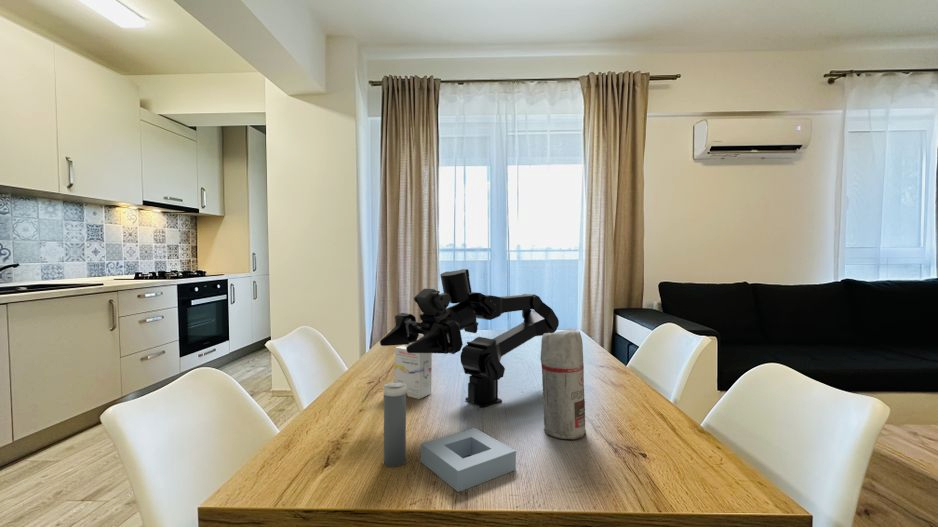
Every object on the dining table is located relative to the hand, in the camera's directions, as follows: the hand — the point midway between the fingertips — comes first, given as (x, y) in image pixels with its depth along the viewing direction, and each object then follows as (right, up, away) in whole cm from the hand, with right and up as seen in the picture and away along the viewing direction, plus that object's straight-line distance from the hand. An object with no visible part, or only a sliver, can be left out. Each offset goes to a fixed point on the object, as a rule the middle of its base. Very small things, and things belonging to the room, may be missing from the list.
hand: (393, 346), depth 78 cm
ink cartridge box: (+1, -17, +23) cm, 29 cm away
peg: (+2, -16, -12) cm, 21 cm away
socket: (+14, -16, -13) cm, 26 cm away
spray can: (+33, -17, 0) cm, 37 cm away
